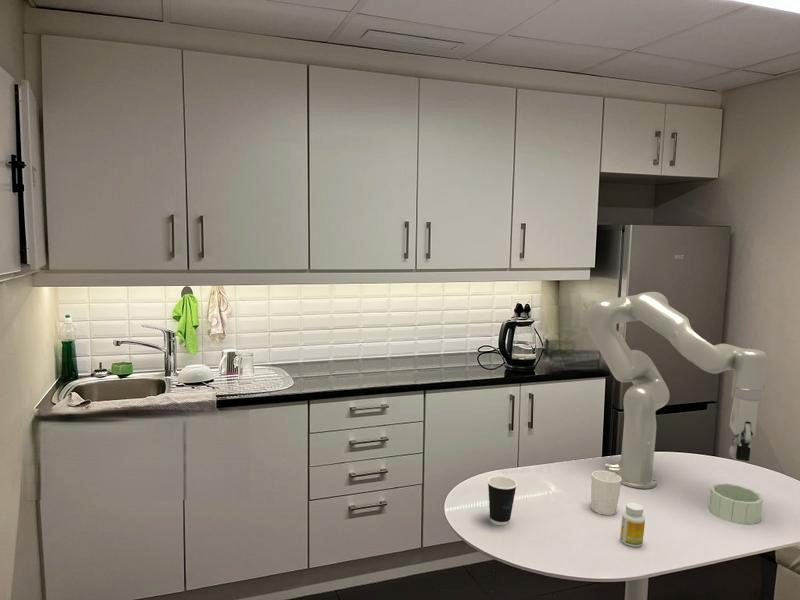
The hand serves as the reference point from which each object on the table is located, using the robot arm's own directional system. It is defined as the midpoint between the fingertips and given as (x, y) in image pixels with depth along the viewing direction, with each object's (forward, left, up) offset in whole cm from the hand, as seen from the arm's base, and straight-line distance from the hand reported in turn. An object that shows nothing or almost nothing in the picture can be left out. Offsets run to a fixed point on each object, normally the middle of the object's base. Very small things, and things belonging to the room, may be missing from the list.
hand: (740, 455), depth 168 cm
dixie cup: (-61, -33, -17) cm, 71 cm away
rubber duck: (0, 0, -1) cm, 1 cm away
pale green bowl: (0, 0, -17) cm, 17 cm away
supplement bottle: (-28, -30, -17) cm, 44 cm away
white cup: (-35, -14, -17) cm, 41 cm away
